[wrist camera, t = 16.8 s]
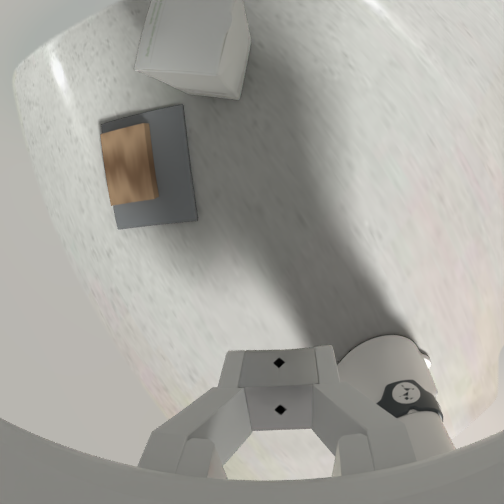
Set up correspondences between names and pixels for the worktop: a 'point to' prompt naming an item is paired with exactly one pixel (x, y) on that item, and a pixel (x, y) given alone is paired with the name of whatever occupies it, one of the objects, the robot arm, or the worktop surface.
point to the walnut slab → (129, 164)
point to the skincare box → (196, 46)
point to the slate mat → (161, 171)
